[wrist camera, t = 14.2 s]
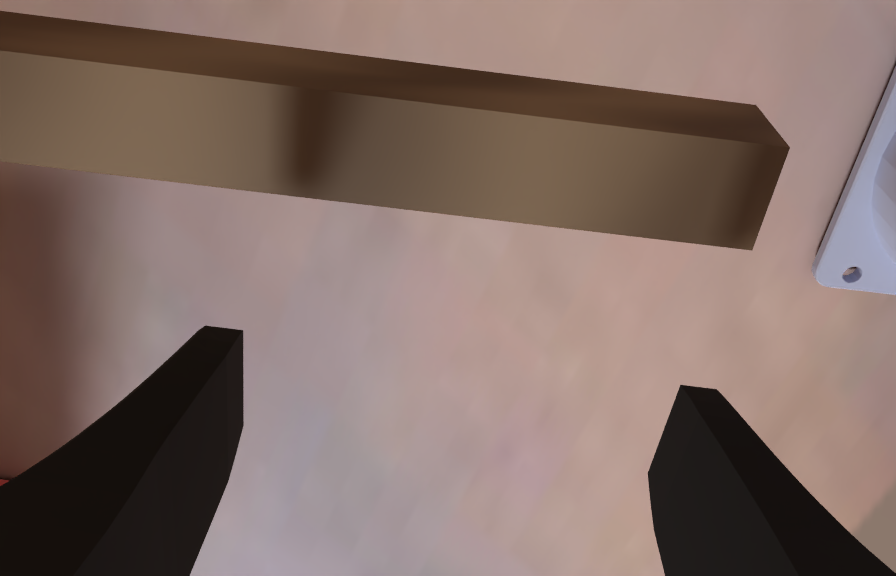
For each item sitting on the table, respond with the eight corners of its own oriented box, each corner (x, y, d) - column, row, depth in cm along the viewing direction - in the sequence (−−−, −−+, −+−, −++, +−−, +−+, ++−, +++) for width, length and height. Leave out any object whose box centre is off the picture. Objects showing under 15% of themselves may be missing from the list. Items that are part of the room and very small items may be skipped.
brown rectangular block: (756, 105, 15) (790, 147, 14) (724, 200, 16) (751, 250, 15) (0, 10, 15) (-62, 43, 13) (18, 115, 16) (-37, 156, 14)
